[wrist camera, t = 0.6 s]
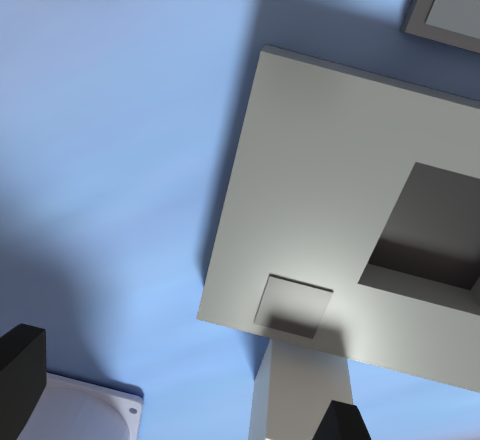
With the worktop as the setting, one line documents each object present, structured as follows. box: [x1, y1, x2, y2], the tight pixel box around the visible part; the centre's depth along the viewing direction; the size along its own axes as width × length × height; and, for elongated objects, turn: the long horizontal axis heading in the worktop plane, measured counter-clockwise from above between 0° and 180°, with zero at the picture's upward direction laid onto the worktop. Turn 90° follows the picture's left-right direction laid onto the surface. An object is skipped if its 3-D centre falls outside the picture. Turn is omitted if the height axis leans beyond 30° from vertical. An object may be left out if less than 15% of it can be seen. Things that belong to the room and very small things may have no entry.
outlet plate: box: [196, 44, 480, 393], centre depth 17 cm, size 12×16×2 cm
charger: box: [248, 338, 353, 440], centre depth 20 cm, size 4×4×7 cm
